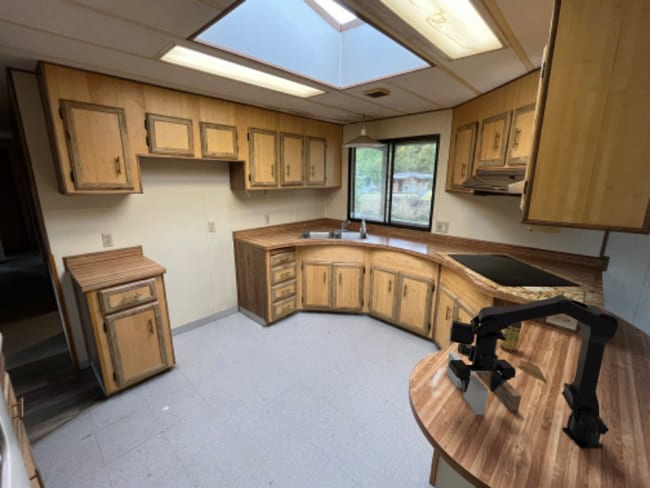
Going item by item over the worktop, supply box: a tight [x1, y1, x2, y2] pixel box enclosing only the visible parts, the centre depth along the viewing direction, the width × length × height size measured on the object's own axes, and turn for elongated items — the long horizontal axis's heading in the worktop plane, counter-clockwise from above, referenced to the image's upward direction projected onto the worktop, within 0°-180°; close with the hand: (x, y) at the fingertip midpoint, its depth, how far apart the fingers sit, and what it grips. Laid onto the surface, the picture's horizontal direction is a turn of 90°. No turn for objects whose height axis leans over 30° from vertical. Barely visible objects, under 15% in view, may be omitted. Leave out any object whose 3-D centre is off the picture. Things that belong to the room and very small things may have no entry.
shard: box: [517, 359, 547, 383], centre depth 111 cm, size 11×8×2 cm
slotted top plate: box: [445, 351, 489, 416], centre depth 98 cm, size 20×2×9 cm, turn 3°
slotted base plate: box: [475, 371, 522, 413], centre depth 100 cm, size 20×2×6 cm, turn 3°
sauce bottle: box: [499, 322, 523, 353], centre depth 124 cm, size 7×6×20 cm
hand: (477, 391), depth 91 cm, fingers open, 9 cm apart
